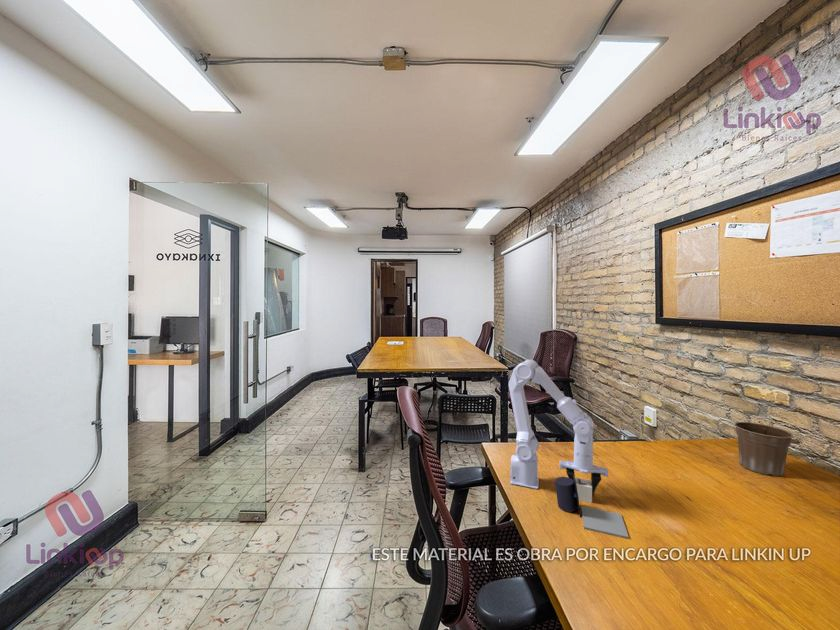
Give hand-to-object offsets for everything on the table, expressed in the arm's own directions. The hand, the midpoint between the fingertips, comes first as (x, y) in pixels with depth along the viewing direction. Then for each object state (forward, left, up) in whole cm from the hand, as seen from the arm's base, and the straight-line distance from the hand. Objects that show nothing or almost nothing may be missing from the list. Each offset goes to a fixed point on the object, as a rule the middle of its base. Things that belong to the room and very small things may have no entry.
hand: (582, 492), depth 110 cm
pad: (+4, -12, -1) cm, 13 cm away
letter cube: (0, 0, -1) cm, 1 cm away
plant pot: (+68, +49, -2) cm, 84 cm away
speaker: (-5, -9, -2) cm, 10 cm away
